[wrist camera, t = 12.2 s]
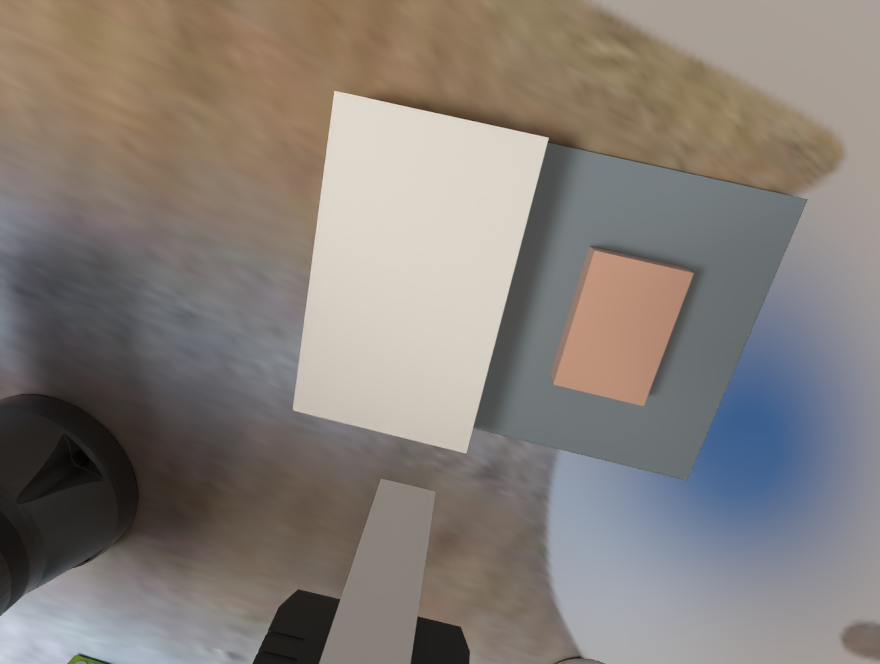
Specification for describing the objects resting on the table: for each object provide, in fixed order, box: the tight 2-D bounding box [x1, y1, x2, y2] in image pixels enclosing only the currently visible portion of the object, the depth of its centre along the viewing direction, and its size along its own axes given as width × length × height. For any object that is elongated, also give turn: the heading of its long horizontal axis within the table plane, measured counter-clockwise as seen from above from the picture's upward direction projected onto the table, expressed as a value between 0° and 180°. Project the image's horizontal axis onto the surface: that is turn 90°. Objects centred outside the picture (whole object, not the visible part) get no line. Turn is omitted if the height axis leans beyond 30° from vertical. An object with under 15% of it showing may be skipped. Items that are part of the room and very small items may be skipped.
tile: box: [551, 246, 694, 406], centre depth 33 cm, size 9×6×2 cm, turn 168°
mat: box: [473, 143, 807, 480], centre depth 34 cm, size 20×16×1 cm
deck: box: [293, 91, 549, 453], centre depth 33 cm, size 20×12×4 cm, turn 168°
